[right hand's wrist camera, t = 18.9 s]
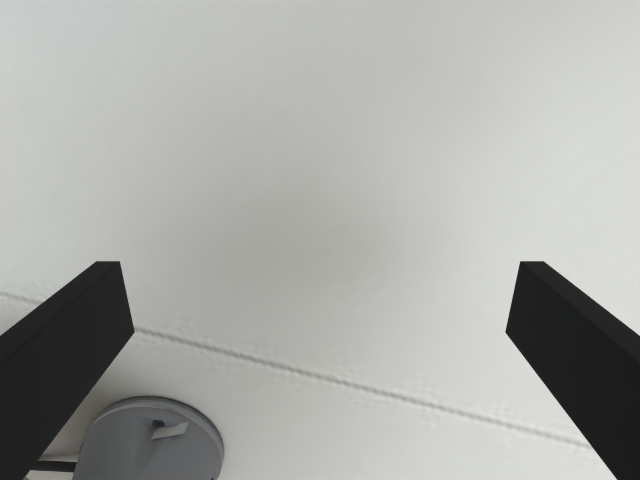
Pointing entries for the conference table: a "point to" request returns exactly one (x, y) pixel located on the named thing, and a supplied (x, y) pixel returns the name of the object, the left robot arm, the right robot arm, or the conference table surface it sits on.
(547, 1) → the conference table surface
